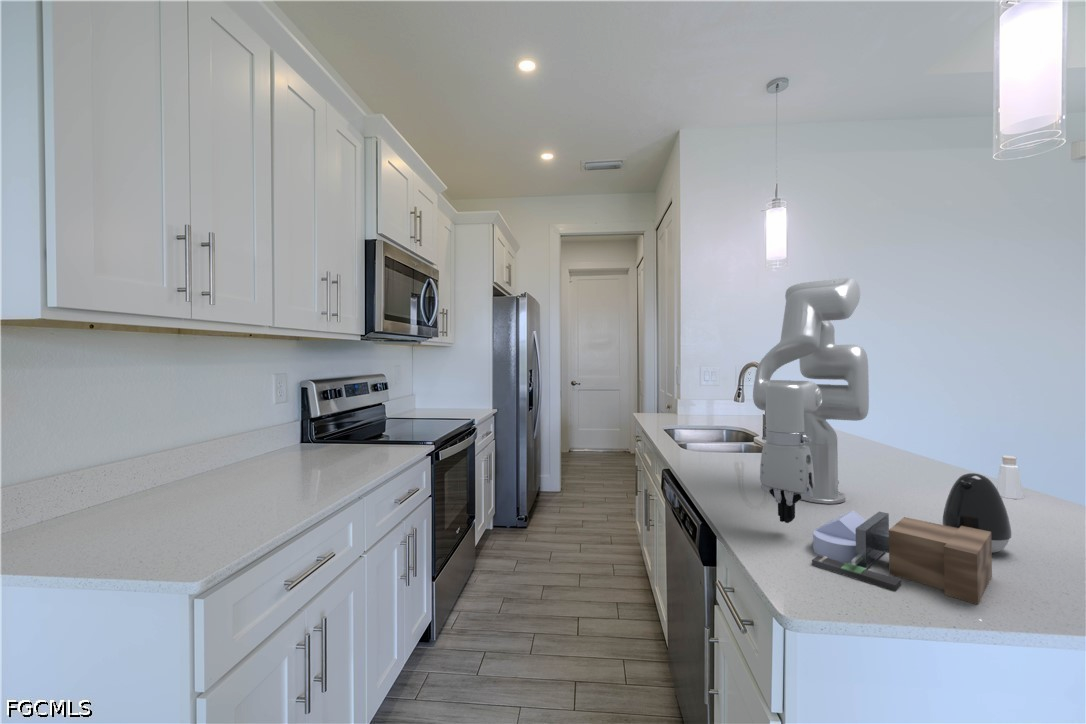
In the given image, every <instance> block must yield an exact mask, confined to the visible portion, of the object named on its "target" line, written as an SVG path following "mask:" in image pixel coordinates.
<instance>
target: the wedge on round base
mask: <svg viewBox="0 0 1086 724" xmlns="http://www.w3.org/2000/svg"><path fill="white" fill-rule="evenodd" d="M865 521H866V519H865V518H863V517H862V516H861V515H860V514H859V513H857V512H856V511H854V509H853V510H851V511H849V512H847V513H844V514H842V515H840V516H837V517H834V518H832V519H830V520H829V521H827V522H825V523H824V524H822V525H820V526H819V527H818V528H816V529H814V531H812V532H813V533H812V535H813V536H812V537H813V538H812V539H813V541H812V542H813V551H814V552H815V553H816V554H817V555H819V556H822V557H824V556H826V557H828V558H829V559H833V560H836V561H839V562H843V563H850V564H851V560H852V559H853V558H855V557H856V528H857V527H858V526H860V525H861V524H862V523H864V522H865Z"/></svg>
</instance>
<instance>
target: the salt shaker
mask: <svg viewBox="0 0 1086 724" xmlns="http://www.w3.org/2000/svg"><path fill="white" fill-rule="evenodd" d="M1001 459H1002V460H1001V461H1002V463H1001V464H999V470H998V471H999V472H998V477H997V479H998V480H997V486H996V488H997V490H998V492H999V494H1000V496H1001V498H1004V499H1010V500H1011V499H1012V500H1024V492H1023V488H1022V487H1023V486H1022V485H1023V484H1022V479H1021V473H1020V469H1019V465H1017V457H1016V456H1013V455H1002V456H1001Z"/></svg>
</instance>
